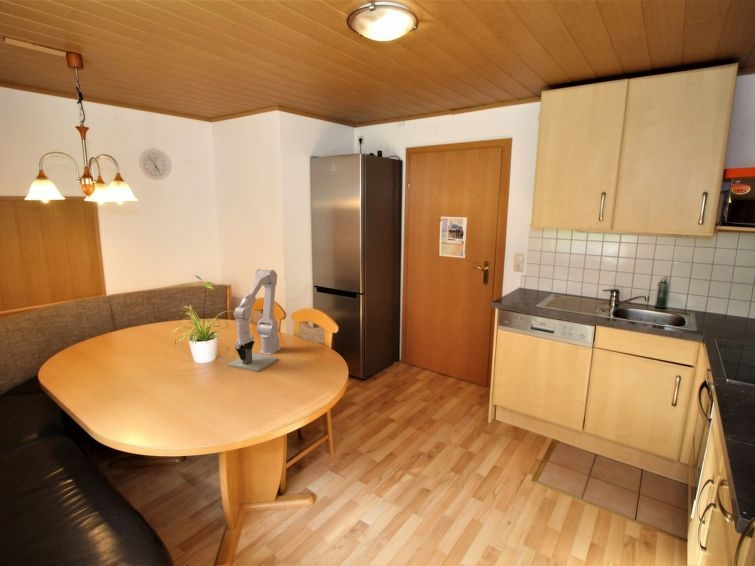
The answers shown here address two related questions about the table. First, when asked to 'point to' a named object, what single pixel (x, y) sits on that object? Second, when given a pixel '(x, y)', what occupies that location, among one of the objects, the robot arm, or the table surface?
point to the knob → (248, 356)
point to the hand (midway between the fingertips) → (245, 357)
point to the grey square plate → (254, 362)
